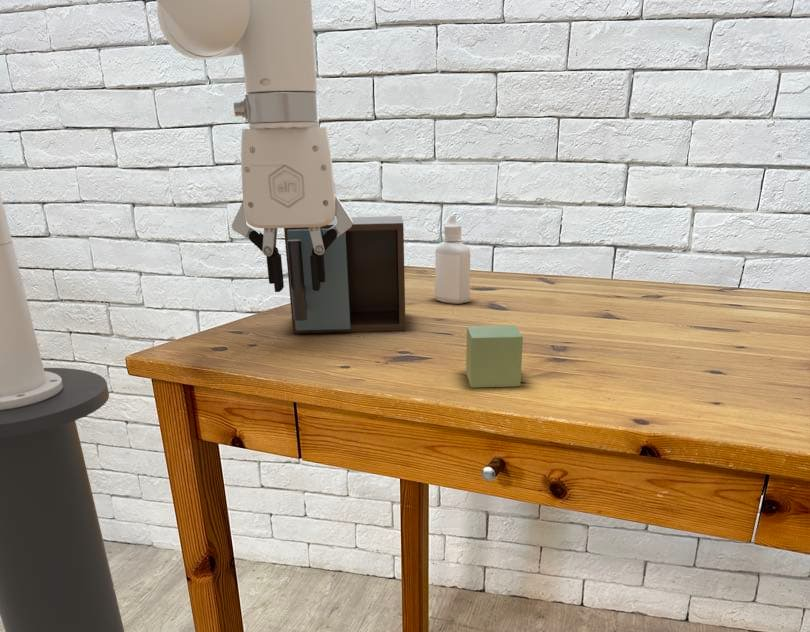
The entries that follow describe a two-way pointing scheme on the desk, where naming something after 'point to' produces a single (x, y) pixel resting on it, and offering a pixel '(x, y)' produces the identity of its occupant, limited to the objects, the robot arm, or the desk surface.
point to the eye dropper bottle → (452, 267)
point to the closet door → (333, 296)
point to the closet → (371, 274)
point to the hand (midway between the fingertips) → (298, 287)
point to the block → (494, 356)
